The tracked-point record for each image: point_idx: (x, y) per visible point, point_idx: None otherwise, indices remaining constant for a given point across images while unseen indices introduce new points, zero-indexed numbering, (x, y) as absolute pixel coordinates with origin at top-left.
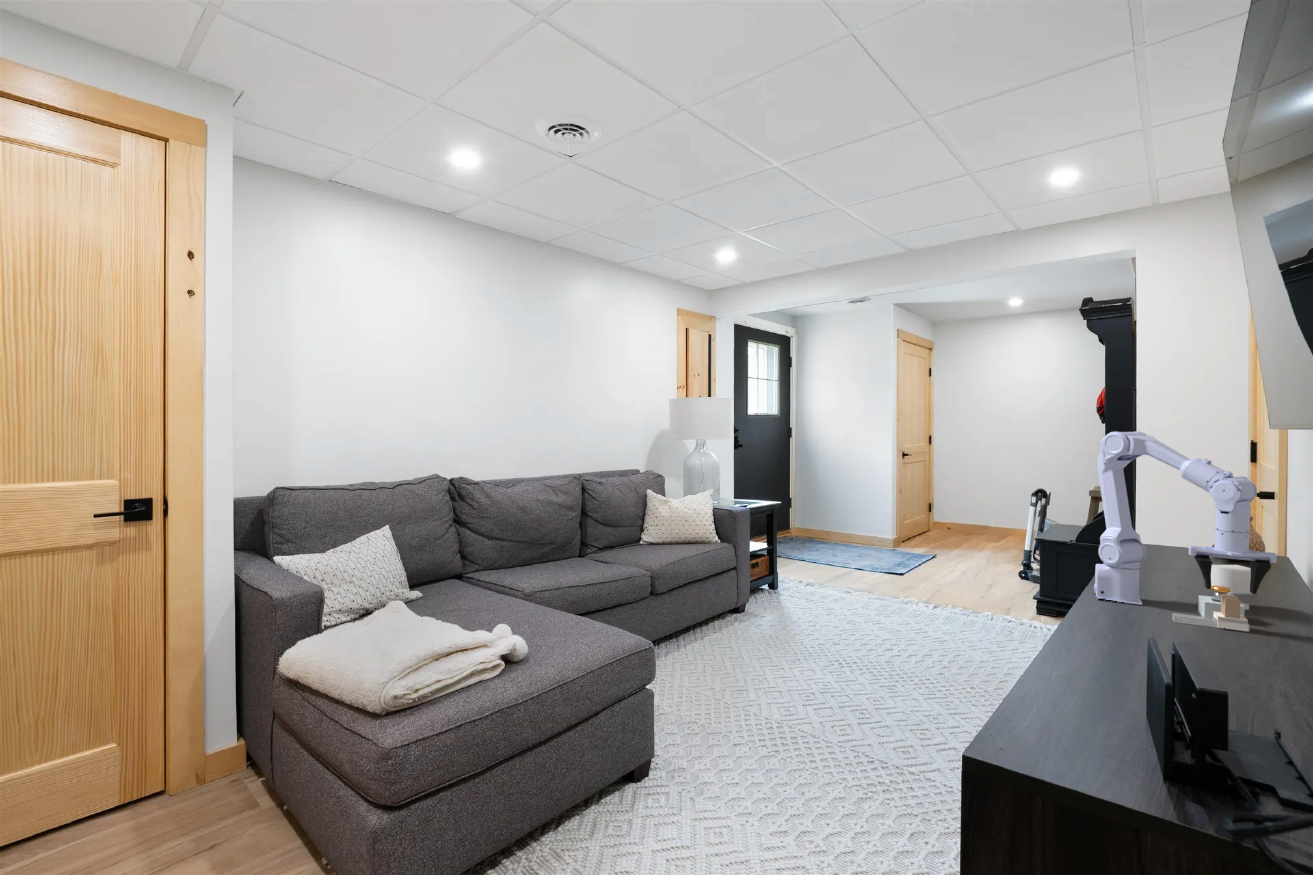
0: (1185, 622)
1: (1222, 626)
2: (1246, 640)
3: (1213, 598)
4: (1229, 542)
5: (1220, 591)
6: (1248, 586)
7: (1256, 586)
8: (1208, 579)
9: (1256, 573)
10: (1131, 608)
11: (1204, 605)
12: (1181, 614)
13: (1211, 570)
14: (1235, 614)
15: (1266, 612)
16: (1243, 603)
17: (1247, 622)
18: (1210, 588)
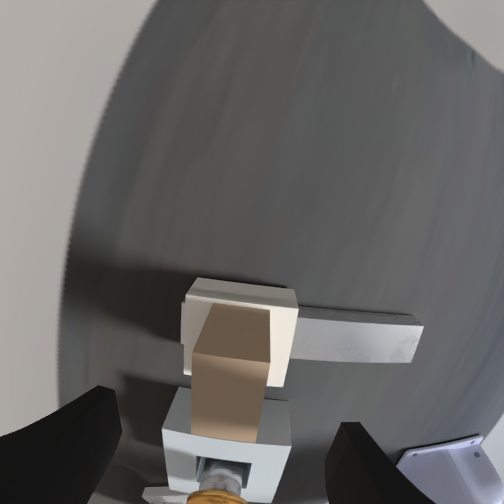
0: (384, 315)
1: (279, 289)
2: (241, 152)
3: None
4: None
5: (226, 493)
6: None
7: (71, 409)
8: (380, 466)
9: (12, 471)
10: (450, 409)
11: (290, 437)
12: (389, 357)
13: None
14: (227, 314)
15: (115, 474)
16: (151, 501)
17: (189, 290)
18: (344, 425)
